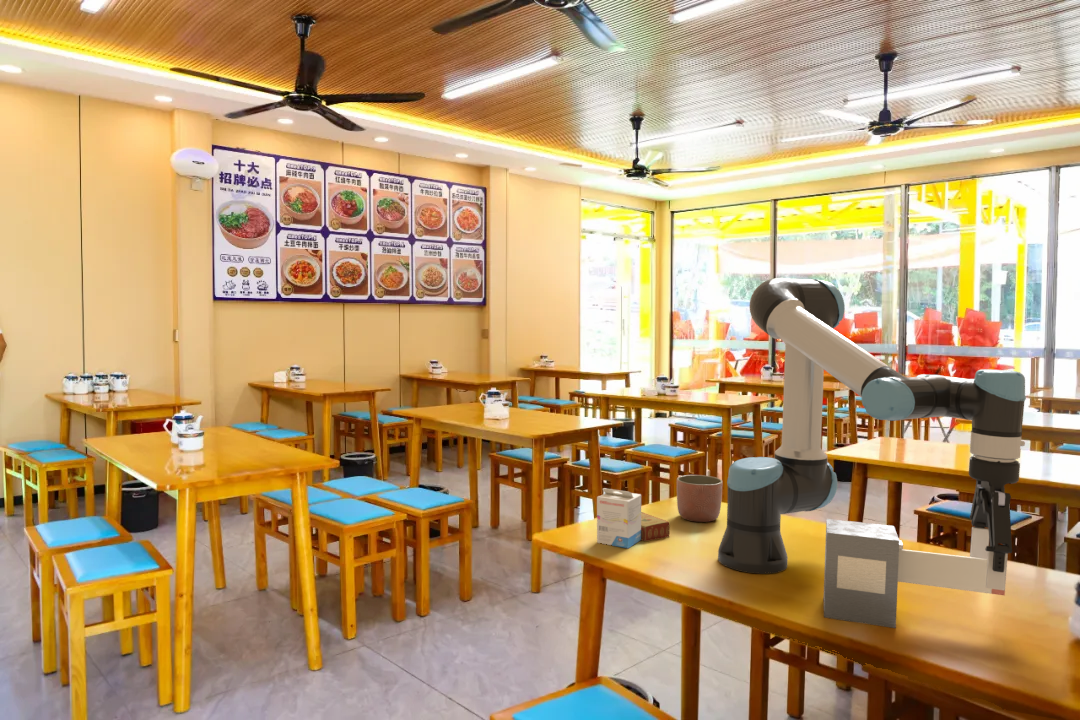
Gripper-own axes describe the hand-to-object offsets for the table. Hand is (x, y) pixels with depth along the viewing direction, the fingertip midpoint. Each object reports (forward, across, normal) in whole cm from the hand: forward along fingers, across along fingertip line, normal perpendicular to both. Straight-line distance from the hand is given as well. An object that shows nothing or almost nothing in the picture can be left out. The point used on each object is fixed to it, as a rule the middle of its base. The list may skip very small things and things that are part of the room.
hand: (986, 575), depth 127 cm
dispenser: (+10, 0, +20) cm, 23 cm away
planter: (+12, +52, +58) cm, 80 cm away
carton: (+12, +34, +72) cm, 80 cm away
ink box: (+12, +24, +74) cm, 78 cm away
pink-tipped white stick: (+3, 0, +6) cm, 7 cm away
